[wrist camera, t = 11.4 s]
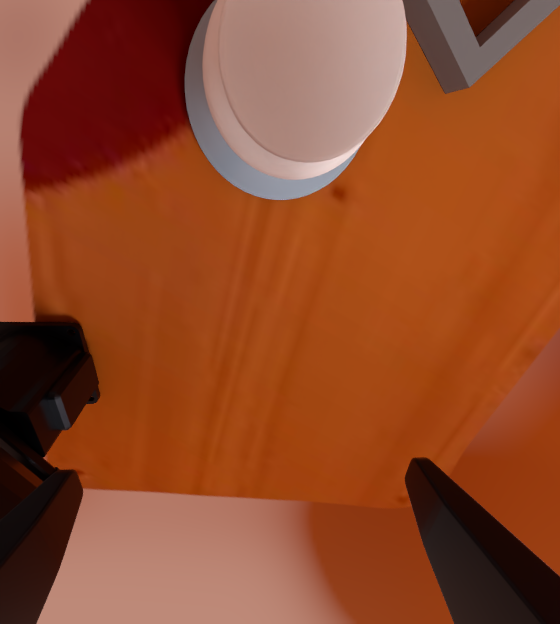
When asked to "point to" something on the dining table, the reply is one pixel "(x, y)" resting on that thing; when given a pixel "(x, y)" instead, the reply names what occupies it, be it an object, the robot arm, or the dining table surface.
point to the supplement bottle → (301, 78)
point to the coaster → (220, 150)
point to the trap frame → (469, 37)
